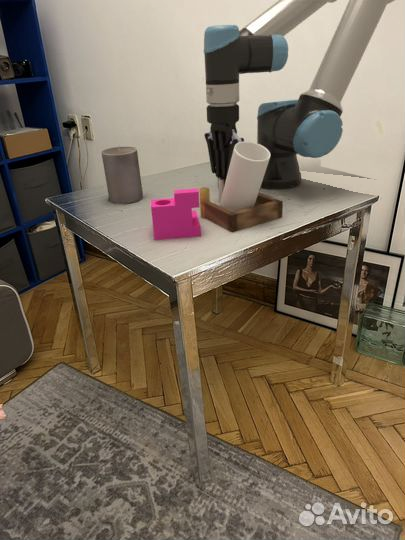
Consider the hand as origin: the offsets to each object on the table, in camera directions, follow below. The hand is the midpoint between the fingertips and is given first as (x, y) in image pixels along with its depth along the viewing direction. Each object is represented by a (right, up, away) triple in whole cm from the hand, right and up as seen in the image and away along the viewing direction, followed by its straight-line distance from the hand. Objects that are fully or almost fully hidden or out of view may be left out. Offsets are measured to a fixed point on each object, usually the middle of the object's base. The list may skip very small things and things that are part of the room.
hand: (224, 202), depth 103 cm
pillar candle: (-28, +3, +12) cm, 30 cm away
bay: (+4, -4, -5) cm, 7 cm away
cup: (+2, -2, -4) cm, 5 cm away
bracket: (-12, -8, -9) cm, 17 cm away
